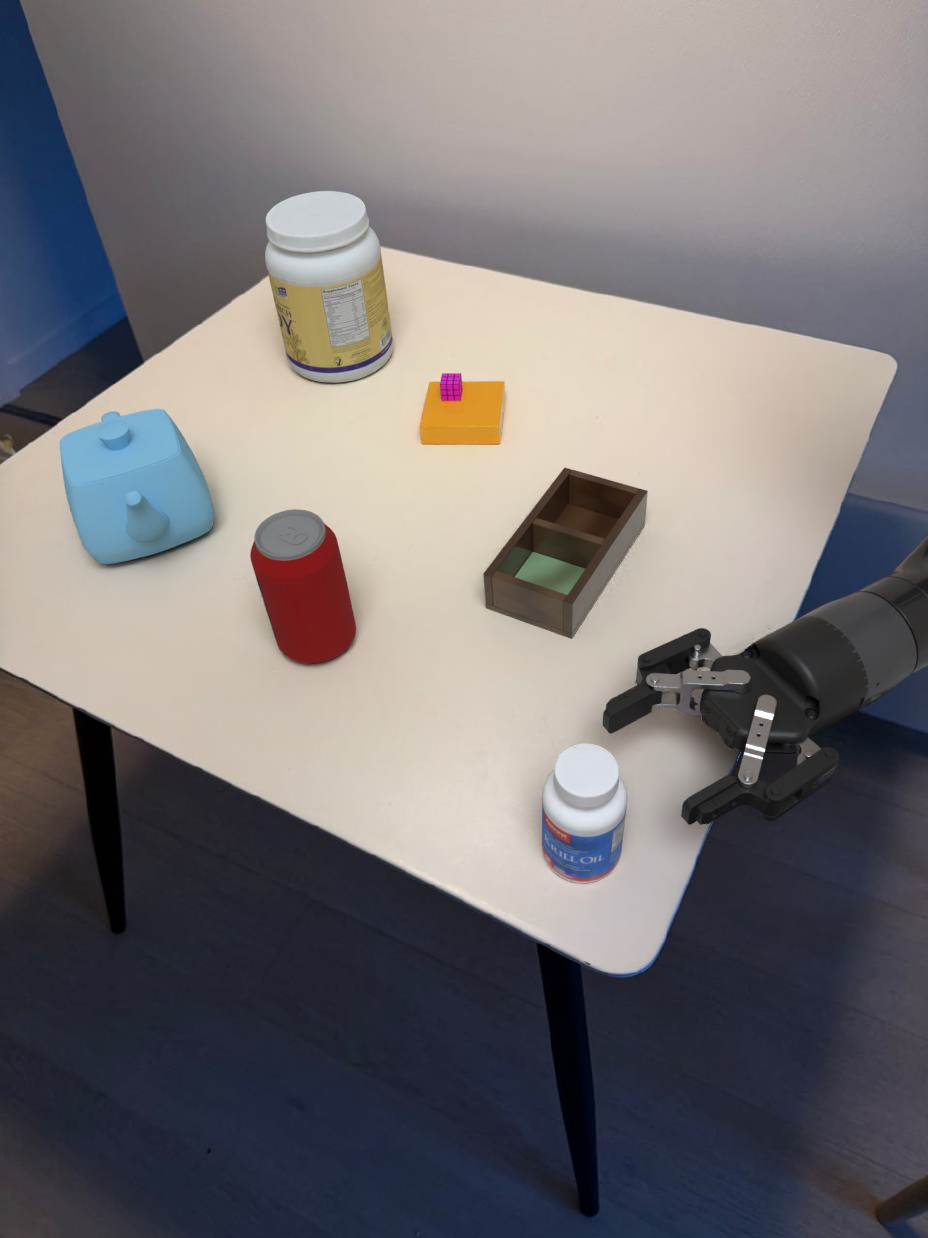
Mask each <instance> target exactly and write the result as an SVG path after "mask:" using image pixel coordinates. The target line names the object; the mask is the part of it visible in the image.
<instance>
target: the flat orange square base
mask: <svg viewBox="0 0 928 1238" xmlns="http://www.w3.org/2000/svg"><path fill="white" fill-rule="evenodd" d="M506 399H507V398H506V382H505V380H496V381H495V380H491V381H489V380H488V381H487V380H484V381H483V380H481V381H480V380H477V381H474V380H473V381H471V380H470V381H469V380H468V381H467V380H466V381H463V378H462V373H460V372H458V373H457V372H454V373H453V372H451V373H448V372H447V373H446V372H445V373H441V377H440V381H429V382H428V387H427V390H426V396H425V400H424V405H423V410H422V414H421V418H420V423H419V432H420V440H421V444H422V445H500V444H501V439H502V431H503V422H504V415H505V414H504V413H505V406H506Z"/></svg>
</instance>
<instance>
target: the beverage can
mask: <svg viewBox="0 0 928 1238" xmlns="http://www.w3.org/2000/svg"><path fill="white" fill-rule="evenodd" d="M253 538H254V540H253V543H252V545H251V548H250V554H249V557H250V562H251V566H252V569H253V573H254V575H255V580H256V582H257V586H258V589H259V593H260V595H261V598H262V602H263V605H264V608H265V612H266V615H267V618H268V621H269V624H270V627H271V630H272V633H273V636H274V639H275V642H276V645H277V647H278V649H279V651H280V652H281V653H282V654H283V655H284V656H285V657H286V658H288V659H290V660H292V661H295V662H297V663H302V664H303V663H304V664H317V663H322V662H326V661H330V660H331V659H332V660H333V659H334V658H337V656H339V655H341V654H342V653H343V652H344V651H346V650H347V649H348V648H349V647H350V645H352V643H353V641H354V639H355V636H356V632H357V625H356V624H357V623H356V619H355V615H354V614H355V613H354V609H353V603H352V600H351V594H350V590H349V586H348V581H347V577H346V572H345V568H344V563H343V559H342V555H341V551H340V546H339V541H338V539H337V536H336V533H335V532H334V531H333V529H332V528H331V527H330V526H328V525H327V524H326V523H325V522H324V521H323V519H322V518H321V516H319V515H318V514H317V513H314V512H313V511H310V510H306V509H297V508H295V509H286V510H282V511H279V512H276V513H274V514H272V515H270V516H268V517H267V518H265V519H264V520H263V521H262V522H261V523H260V524H259V525H258V527H256V529H255V532H254V537H253Z"/></svg>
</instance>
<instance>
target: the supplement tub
mask: <svg viewBox="0 0 928 1238" xmlns="http://www.w3.org/2000/svg"><path fill="white" fill-rule="evenodd" d="M265 226H266V237H267V239H268V242H267V244H266V247H265V252H264V260H265V267H266V270H267V274H268V279H269V282H270V283H269V284H270V287H271V293H272V297H273V302H274V306H275V311H276V314H277V319H278V324H279V328H280V333H281V338H282V342H283V346H284V350H285V355H286V356H285V357H286V359H287V361H288V363H289V365H290V366H291V368H292V369H293V370H294V371H295V372H296V373H297V374H299V375H300V376H302V377H303V378H305V379H307V380H310V381H314V382H319V383H328V384H329V383H330V384H331V383H333V384H334V383H336V384H337V383H346V382H347V383H348V382H352V381H356V380H360V379H363V378H365V377H368V376H369V375H371V374H374V373H375V372H377V371H378V370H379V369H381V368H382V367H383V366H384V365H385V364H386V363H387V362H388V361H389V359H390V358H391V355H392V353H393V349H394V337H393V332H392V325H391V317H390V316H391V315H390V310H389V303H388V294H387V288H386V280H385V272H384V271H385V270H384V265H383V258H382V257H383V256H382V247H381V244H380V239H379V238H378V235H377V234H376V232H375V231H374V229H373V228H372V227H371V226H370V219H369V216H368V213H367V208H366V205H365V203H364V201H363V200H362V199H361V198H359V197H357V196H356V195H354V194H351V193H348V192H344V191H335V190H320V191H310V192H305V193H300V194H296V195H294V196H291V197H288V198H286V199H284V200H282V201H280V202H278V203H277V204H275V205H274V206H273V207H271V209H270V210H269V211H268V212H267V213H266V216H265Z"/></svg>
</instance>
